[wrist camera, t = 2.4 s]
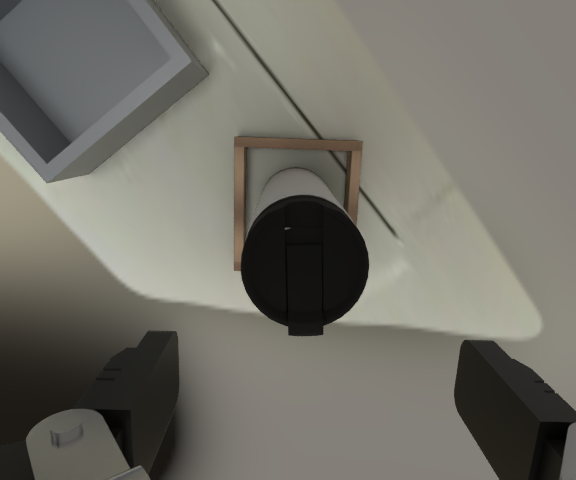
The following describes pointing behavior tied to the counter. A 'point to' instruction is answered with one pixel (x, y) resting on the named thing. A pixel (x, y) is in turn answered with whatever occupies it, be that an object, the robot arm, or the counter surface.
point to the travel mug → (303, 254)
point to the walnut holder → (289, 143)
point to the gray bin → (86, 78)
